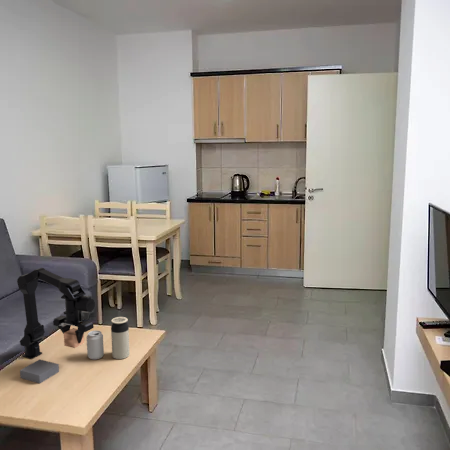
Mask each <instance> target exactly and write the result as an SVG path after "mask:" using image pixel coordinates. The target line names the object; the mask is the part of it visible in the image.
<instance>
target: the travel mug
mask: <svg viewBox="0 0 450 450" xmlns="http://www.w3.org/2000/svg"><path fill="white" fill-rule="evenodd" d="M110 321H111V326H110V331H111V333H110V335H111V356H112V358H113V359H115V360H116V359H117V360H123V359H126V358H129V356H130V334H129V332H130V331H129V330H130V329H129V328H130V327H129V326H130V325H129V324H128V318H127V317H124V316H116V317H114V318H112V319H111V320H110Z"/></svg>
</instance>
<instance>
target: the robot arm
mask: <svg viewBox="0 0 450 450" xmlns="http://www.w3.org/2000/svg"><path fill="white" fill-rule="evenodd" d="M39 280H40V281H42V282H44V283H47V284H49V285H52V286H53V287H55V288H57V289H58V291H59V292H60V293H61V294H62V295H61V296H60V299H63V300H64V303H65V304H64V306H65V311H63V315H60V316H57V317H56V318H54V319H53V322H52V325H53V326H55V327H57V328H58V329H59V330H60V331H61V333H62V335H64V333H65V332H67V331H69V330H71V326H73V327H77V329H78V330H76V331H75V333H76V337H77V341H78V343H81V340H82V337H83V334H84V335H85V333H87V332H88V331H89V332H90V330H91V331H92V329H94V327H95V326H94V323H93V322H92V321H88V320H89V317H90V313H91V312H93V311H94V309H95V306H96V303H95V300H94V299H92V296H91V295H86V294H87V293H86V292H85V290H84V288H83V287H82V285H81V284H80V281H79V280H77V279H74V278H64V277H62V276H60V275H58V274H56V273H53V272H51V271H49V270H47V269H46V268H44V267H40V268H36V269H34V270H33V271H30V272H28V273H26V274H23V275H20V276H19V277H18V278H17V279H16V282H17V283H16V284H17V286H18V287H17V288H18V289H19V291H20V292H21V293H22V294H23V304H24V312H25V318H26V319H25V320H26V324H25V327H24V330H23V337H22V338H21V339H20V340H19V344H20V346H23V347H24V353H23V354H22V355H21V357H22V358H23V357H24V358H27V359H29V360H30V359H31V360H33V359H35V358H36V357H38V356H40V355H43V351H41V349H40V342H41V341H42V340H43V337H44V335H45V326H44V324H41V323H40V322H39V317H38V316H39V315H38V307H37V300H36V299H37V298H36V291H37V288H38V283H39V282H38V281H39ZM84 320H85V321H84ZM82 321H83V322H82Z"/></svg>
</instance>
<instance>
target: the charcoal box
mask: <svg viewBox="0 0 450 450" xmlns="http://www.w3.org/2000/svg"><path fill="white" fill-rule="evenodd" d="M59 365H60V364H59V363H56V362H51V361H47V360H44V359H38V360H36V361H34V362H31V364H29V365H27V366H25V367H23V368H21V369H20V370H19V374H20V377H19V378H20V379H23V380H26V381H30V382H33V383H36V384H42V383H43V382H45V381H47V380H48V379H49V378H51V377H53V376H55V375H56V374H58V373H60V366H59Z"/></svg>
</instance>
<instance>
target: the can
mask: <svg viewBox="0 0 450 450" xmlns="http://www.w3.org/2000/svg"><path fill="white" fill-rule="evenodd" d="M104 346H105V345H104V335H103V333H102V331H101V330H91V331H89V332H88V333H87V335H86V353H87V358H89V360H100V359H102V357H104V355H105V350H104Z"/></svg>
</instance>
